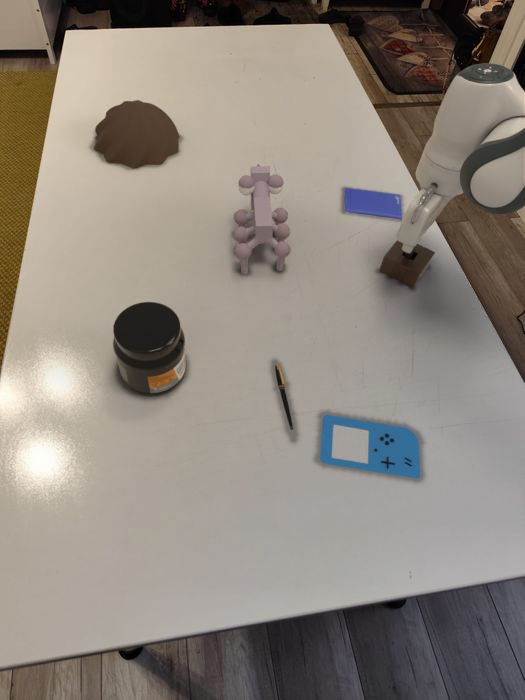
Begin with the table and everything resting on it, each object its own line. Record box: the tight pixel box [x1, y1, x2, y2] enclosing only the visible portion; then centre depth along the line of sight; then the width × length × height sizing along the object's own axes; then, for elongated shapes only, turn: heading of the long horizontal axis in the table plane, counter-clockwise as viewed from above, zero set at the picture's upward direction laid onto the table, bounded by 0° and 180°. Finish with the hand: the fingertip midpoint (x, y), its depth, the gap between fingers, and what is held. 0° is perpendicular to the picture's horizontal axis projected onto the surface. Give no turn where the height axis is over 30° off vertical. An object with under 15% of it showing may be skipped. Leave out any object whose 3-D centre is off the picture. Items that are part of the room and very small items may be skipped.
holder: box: [378, 239, 436, 290], centre depth 101 cm, size 7×7×5 cm
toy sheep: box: [233, 163, 292, 275], centre depth 99 cm, size 20×11×14 cm, turn 3°
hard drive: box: [343, 187, 403, 221], centre depth 113 cm, size 2×8×12 cm
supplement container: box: [112, 301, 187, 397], centre depth 79 cm, size 10×10×12 cm
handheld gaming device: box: [319, 414, 421, 479], centre depth 79 cm, size 8×1×15 cm
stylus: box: [404, 246, 416, 259], centre depth 97 cm, size 1×1×13 cm
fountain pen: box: [274, 364, 294, 431], centre depth 82 cm, size 14×1×2 cm, turn 11°
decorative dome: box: [93, 99, 180, 170], centre depth 116 cm, size 19×20×10 cm
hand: (417, 235), depth 95 cm, fingers open, 8 cm apart
